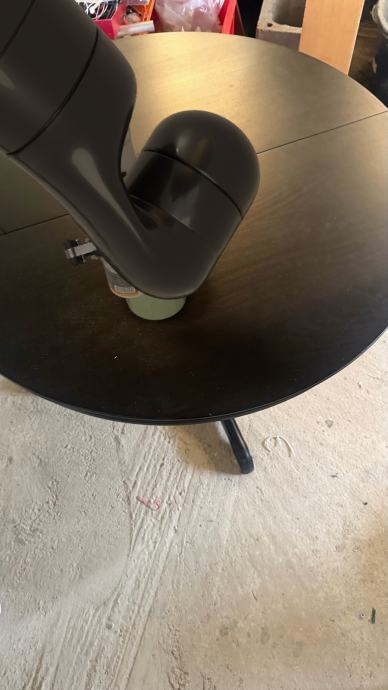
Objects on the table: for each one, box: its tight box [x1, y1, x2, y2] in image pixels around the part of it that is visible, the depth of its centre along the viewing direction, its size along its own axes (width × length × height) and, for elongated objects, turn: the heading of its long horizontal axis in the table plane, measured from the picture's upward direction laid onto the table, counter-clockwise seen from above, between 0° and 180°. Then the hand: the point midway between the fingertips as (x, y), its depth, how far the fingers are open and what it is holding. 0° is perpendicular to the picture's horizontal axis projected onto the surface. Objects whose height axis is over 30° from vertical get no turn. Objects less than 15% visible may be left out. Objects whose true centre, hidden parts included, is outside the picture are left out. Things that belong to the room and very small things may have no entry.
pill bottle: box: [102, 260, 143, 299], centre depth 59 cm, size 6×6×10 cm
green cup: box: [125, 294, 187, 321], centre depth 74 cm, size 10×10×8 cm
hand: (119, 241), depth 59 cm, fingers closed on pill bottle, 5 cm apart
